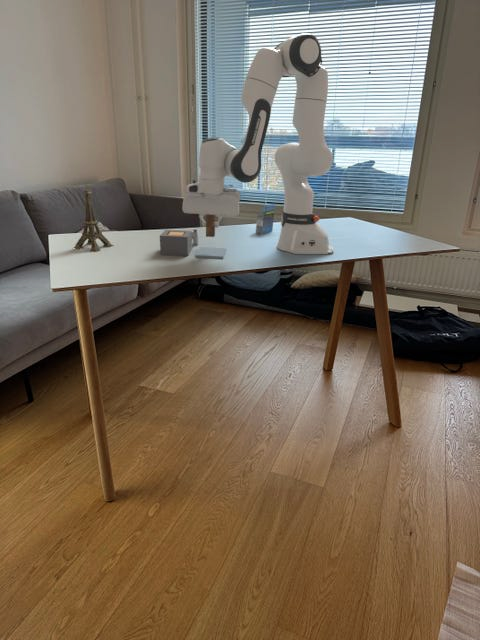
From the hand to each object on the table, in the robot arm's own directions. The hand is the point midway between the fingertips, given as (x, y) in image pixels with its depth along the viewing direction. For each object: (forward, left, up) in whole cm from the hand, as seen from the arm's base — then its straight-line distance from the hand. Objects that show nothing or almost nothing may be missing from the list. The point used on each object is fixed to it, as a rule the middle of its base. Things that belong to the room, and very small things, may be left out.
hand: (210, 226), depth 154 cm
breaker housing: (+13, 0, -10) cm, 16 cm away
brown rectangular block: (0, 0, -3) cm, 3 cm away
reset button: (+13, 0, -6) cm, 14 cm away
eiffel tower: (+45, -1, -10) cm, 46 cm away
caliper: (+11, -21, -11) cm, 26 cm away
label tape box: (-20, -42, -10) cm, 48 cm away
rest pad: (0, 0, -10) cm, 10 cm away
